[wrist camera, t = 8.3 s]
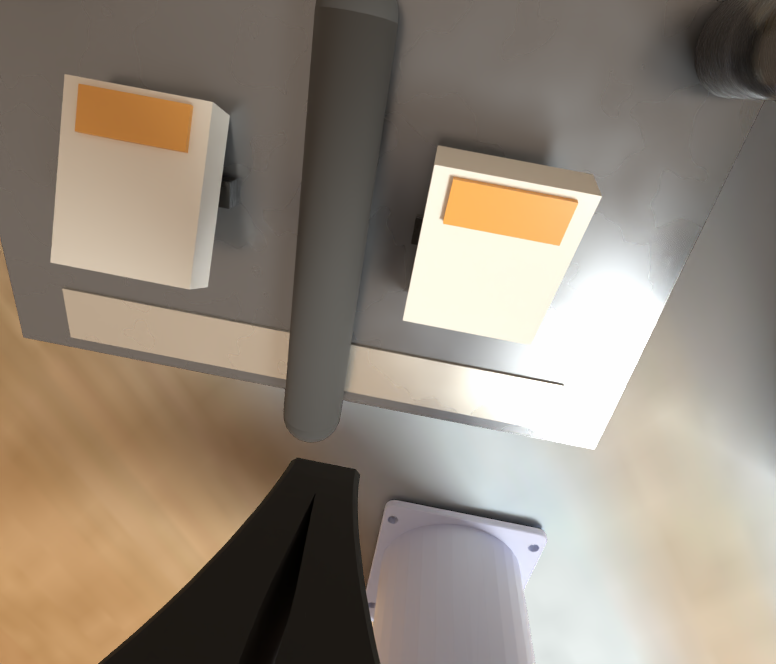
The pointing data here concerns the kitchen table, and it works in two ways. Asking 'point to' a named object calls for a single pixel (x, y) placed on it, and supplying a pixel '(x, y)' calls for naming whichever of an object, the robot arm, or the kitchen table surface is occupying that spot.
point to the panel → (399, 183)
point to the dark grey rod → (335, 202)
